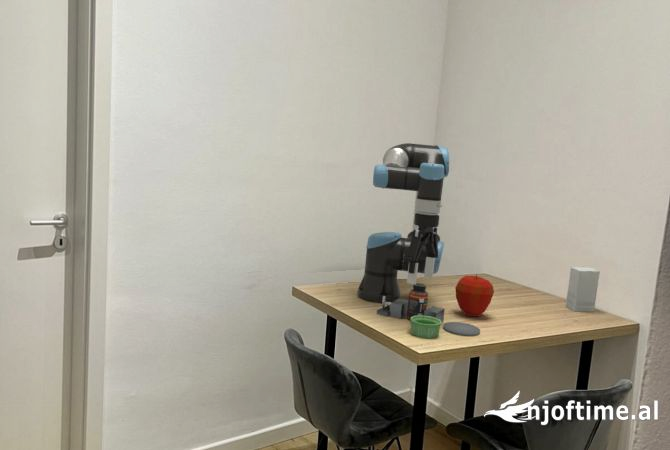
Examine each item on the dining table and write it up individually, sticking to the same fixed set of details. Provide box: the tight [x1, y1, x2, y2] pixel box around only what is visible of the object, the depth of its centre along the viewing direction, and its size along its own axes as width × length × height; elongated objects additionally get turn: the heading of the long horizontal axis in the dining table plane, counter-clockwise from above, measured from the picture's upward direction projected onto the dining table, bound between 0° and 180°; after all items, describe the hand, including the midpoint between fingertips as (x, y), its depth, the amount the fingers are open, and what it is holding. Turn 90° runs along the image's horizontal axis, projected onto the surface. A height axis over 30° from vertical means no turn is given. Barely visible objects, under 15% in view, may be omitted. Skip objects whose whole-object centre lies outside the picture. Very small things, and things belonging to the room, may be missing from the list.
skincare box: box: [565, 266, 601, 313], centre depth 217 cm, size 8×7×16 cm
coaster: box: [442, 321, 481, 337], centre depth 180 cm, size 11×11×1 cm
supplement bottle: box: [406, 282, 429, 321], centre depth 187 cm, size 6×6×11 cm
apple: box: [455, 274, 495, 317], centre depth 197 cm, size 12×12×14 cm
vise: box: [376, 296, 446, 324], centre depth 188 cm, size 20×9×5 cm, turn 59°
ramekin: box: [410, 315, 442, 339], centre depth 173 cm, size 9×9×4 cm
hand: (420, 280), depth 185 cm, fingers open, 13 cm apart
